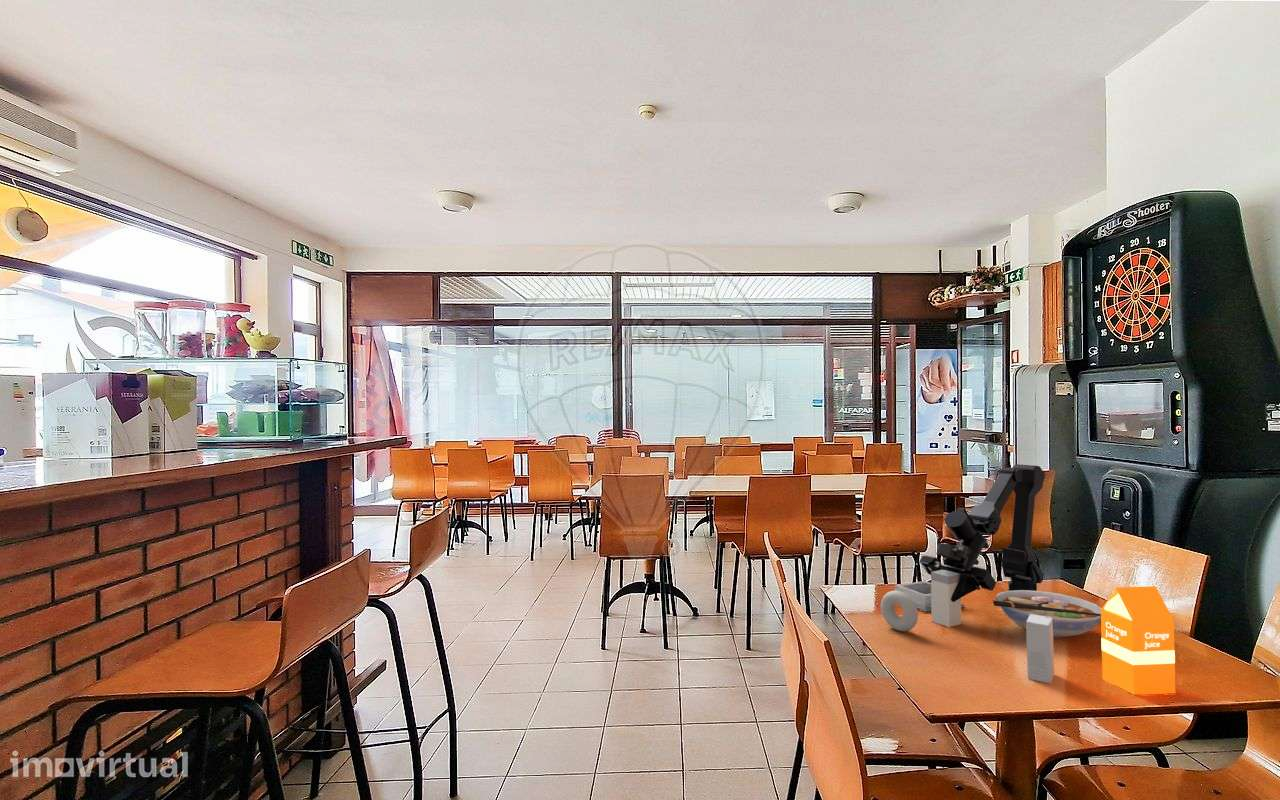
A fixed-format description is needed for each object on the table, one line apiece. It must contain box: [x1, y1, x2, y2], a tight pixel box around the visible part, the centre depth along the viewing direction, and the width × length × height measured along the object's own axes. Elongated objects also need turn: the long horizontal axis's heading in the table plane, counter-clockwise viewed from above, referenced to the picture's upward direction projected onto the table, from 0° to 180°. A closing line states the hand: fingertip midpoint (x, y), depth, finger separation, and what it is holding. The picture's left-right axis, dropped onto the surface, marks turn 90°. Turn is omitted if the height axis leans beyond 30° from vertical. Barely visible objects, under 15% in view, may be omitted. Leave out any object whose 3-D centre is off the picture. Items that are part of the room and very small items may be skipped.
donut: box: [880, 590, 919, 632], centre depth 156 cm, size 10×4×10 cm, turn 32°
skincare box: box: [1025, 614, 1055, 685], centre depth 129 cm, size 6×4×12 cm
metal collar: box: [894, 580, 931, 609], centre depth 178 cm, size 11×11×4 cm
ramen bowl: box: [992, 590, 1103, 639], centre depth 153 cm, size 25×23×8 cm
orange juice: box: [1100, 585, 1176, 695], centre depth 124 cm, size 8×9×20 cm
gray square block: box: [930, 570, 962, 628], centre depth 161 cm, size 5×5×13 cm
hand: (942, 598), depth 161 cm, fingers closed on gray square block, 5 cm apart
